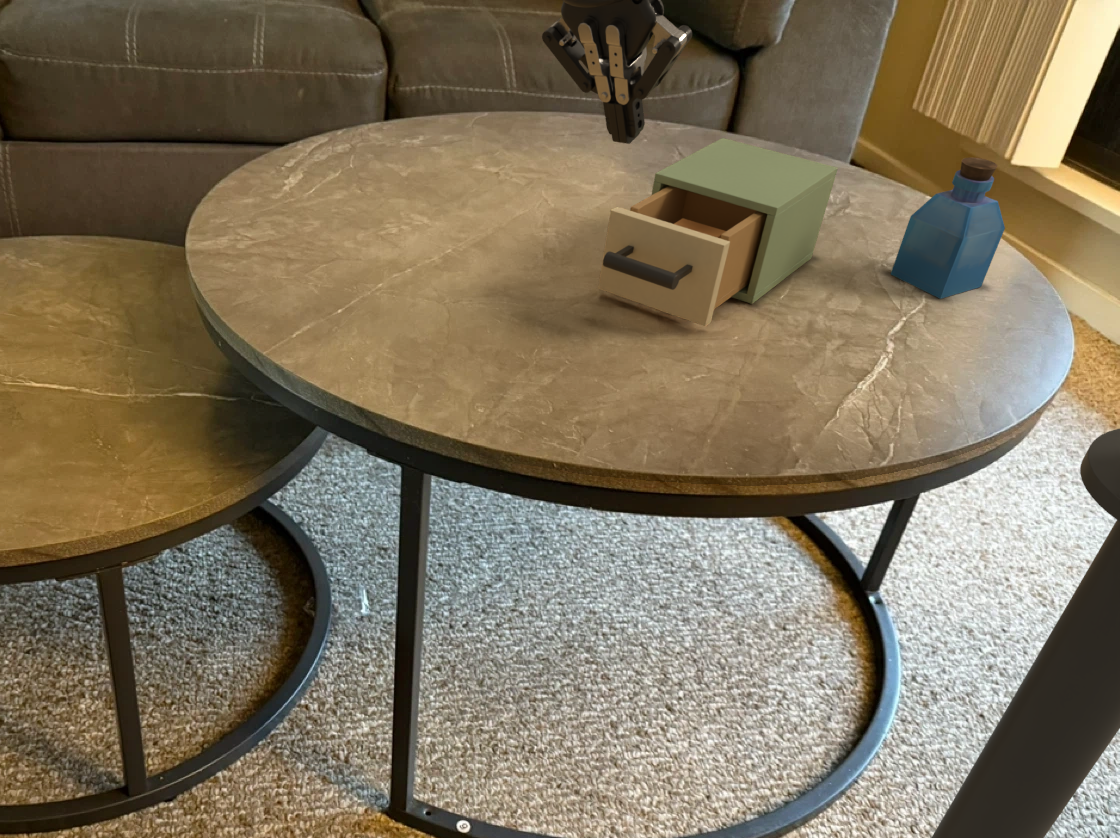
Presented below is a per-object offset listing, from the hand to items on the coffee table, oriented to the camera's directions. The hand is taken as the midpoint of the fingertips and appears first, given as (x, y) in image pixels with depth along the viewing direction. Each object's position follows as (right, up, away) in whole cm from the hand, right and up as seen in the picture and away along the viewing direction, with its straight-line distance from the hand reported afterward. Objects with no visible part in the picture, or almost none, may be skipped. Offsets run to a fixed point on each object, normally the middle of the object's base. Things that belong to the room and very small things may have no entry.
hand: (627, 137), depth 89 cm
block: (+8, -9, +13) cm, 17 cm away
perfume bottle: (+36, -8, +19) cm, 41 cm away
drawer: (+7, -10, +13) cm, 18 cm away
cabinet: (+15, -5, +21) cm, 26 cm away
